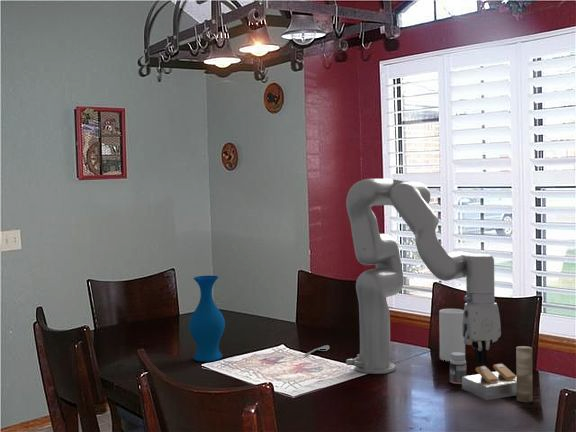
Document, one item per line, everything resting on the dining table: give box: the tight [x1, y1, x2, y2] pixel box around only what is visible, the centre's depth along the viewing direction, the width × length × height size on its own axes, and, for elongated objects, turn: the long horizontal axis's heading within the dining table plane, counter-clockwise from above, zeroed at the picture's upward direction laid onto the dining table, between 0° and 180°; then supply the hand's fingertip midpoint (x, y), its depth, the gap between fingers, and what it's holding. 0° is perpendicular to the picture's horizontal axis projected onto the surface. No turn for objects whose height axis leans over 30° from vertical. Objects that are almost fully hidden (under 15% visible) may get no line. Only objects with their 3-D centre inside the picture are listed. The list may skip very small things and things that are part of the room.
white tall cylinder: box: [438, 308, 466, 362], centre depth 220 cm, size 8×8×16 cm
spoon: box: [303, 344, 330, 357], centre depth 230 cm, size 4×21×2 cm, turn 141°
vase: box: [188, 275, 226, 363], centre depth 226 cm, size 12×13×28 cm
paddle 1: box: [475, 365, 498, 383], centre depth 183 cm, size 3×6×1 cm, turn 21°
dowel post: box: [515, 345, 534, 403], centre depth 176 cm, size 4×4×14 cm
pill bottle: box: [449, 352, 467, 385], centre depth 194 cm, size 5×5×8 cm
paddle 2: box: [492, 363, 516, 380], centre depth 186 cm, size 3×6×1 cm, turn 21°
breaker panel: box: [461, 370, 517, 401], centre depth 185 cm, size 14×11×4 cm
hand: (481, 363), depth 185 cm, fingers closed
